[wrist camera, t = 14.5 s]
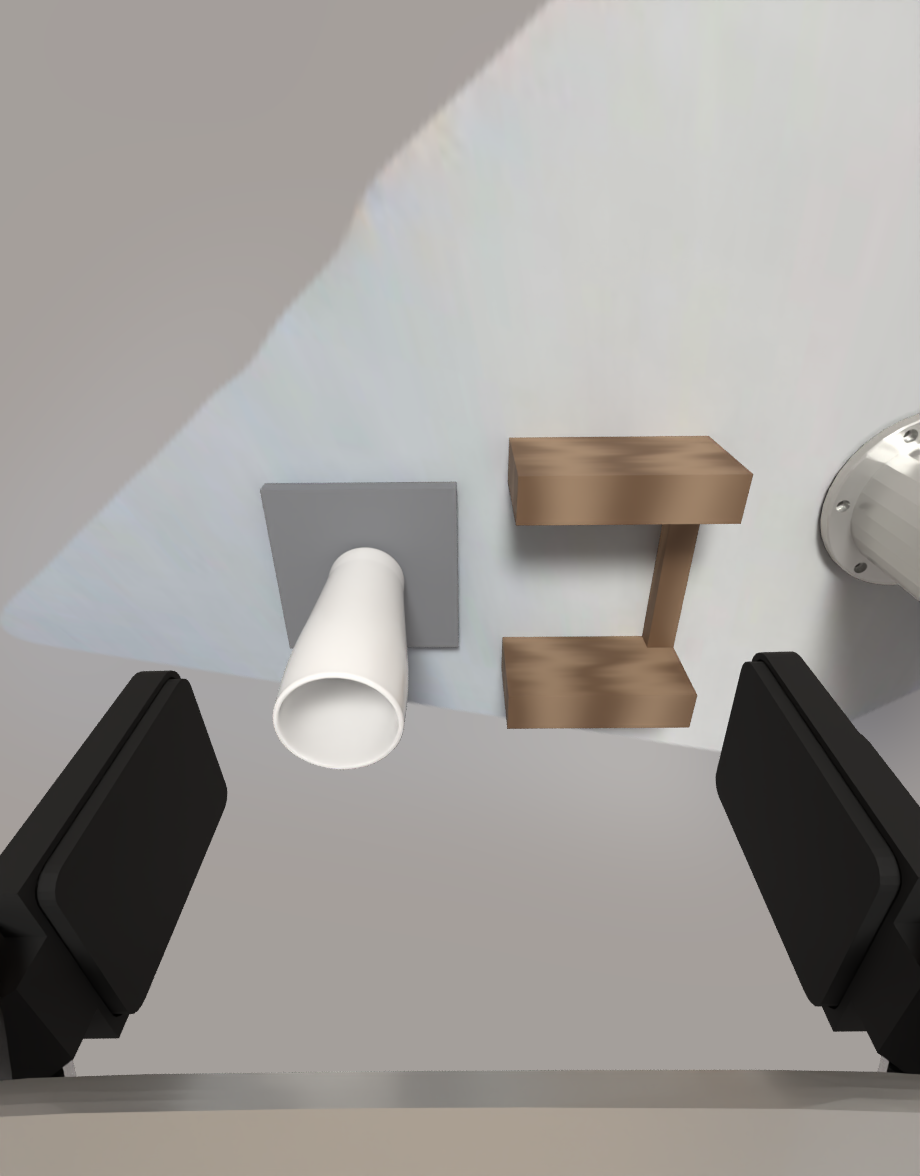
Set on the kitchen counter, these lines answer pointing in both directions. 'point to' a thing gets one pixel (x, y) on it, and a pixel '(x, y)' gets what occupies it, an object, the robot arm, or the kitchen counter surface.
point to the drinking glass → (348, 667)
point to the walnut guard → (680, 503)
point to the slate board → (368, 519)
